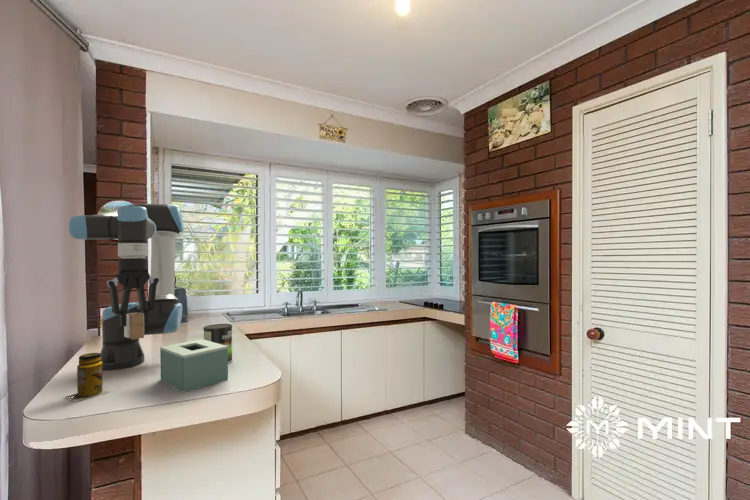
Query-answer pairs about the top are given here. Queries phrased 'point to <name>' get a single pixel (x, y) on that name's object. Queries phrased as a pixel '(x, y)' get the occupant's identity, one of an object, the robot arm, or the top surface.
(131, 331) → the tan upright block
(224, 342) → the coffee can
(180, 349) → the teal box with hole
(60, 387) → the top surface
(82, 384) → the condiment
